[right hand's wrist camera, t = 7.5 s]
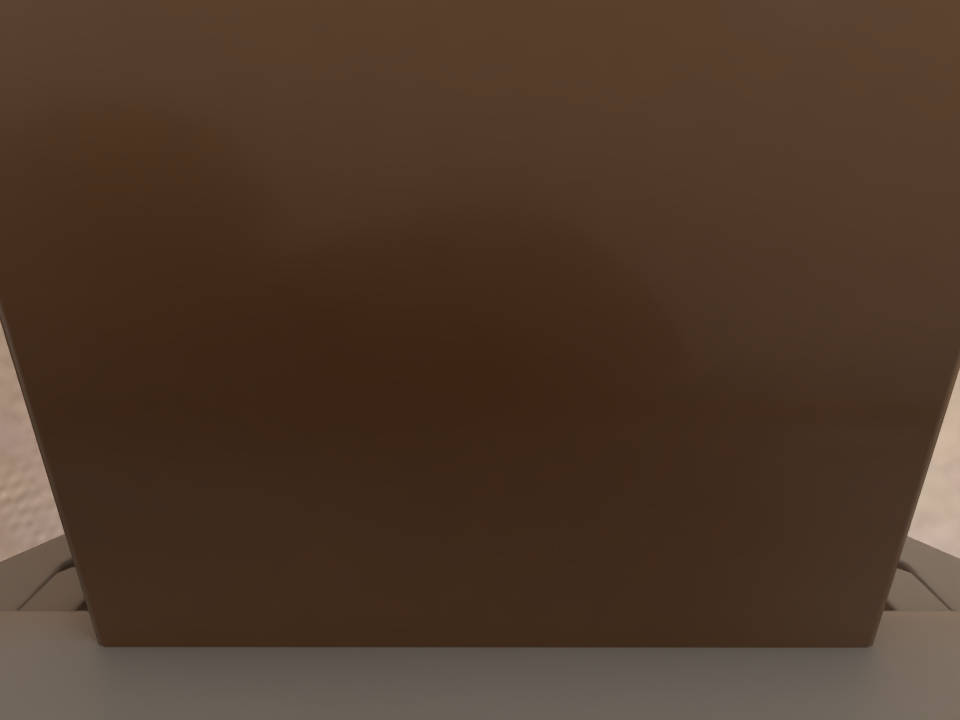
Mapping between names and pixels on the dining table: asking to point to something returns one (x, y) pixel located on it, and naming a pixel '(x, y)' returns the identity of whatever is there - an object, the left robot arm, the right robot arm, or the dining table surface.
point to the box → (483, 312)
